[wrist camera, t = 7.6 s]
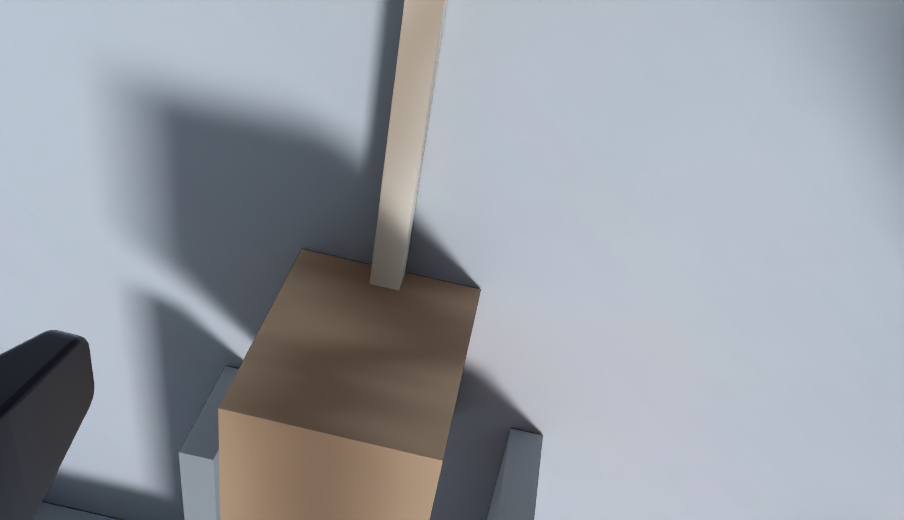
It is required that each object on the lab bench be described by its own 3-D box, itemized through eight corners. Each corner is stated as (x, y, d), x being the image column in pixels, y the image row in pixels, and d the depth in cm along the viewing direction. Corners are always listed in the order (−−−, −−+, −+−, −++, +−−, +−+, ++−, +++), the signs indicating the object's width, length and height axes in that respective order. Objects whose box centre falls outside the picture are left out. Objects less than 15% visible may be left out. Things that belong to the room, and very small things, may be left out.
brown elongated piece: (607, -271, 15) (599, -224, 11) (452, 413, 26) (413, 588, 21) (335, -326, 15) (205, -304, 11) (293, 377, 26) (220, 542, 22)
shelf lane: (542, 435, 26) (532, 531, 23) (487, 619, 32) (474, 712, 30) (-51, 305, 27) (-129, 383, 24) (8, 509, 33) (-48, 589, 31)
